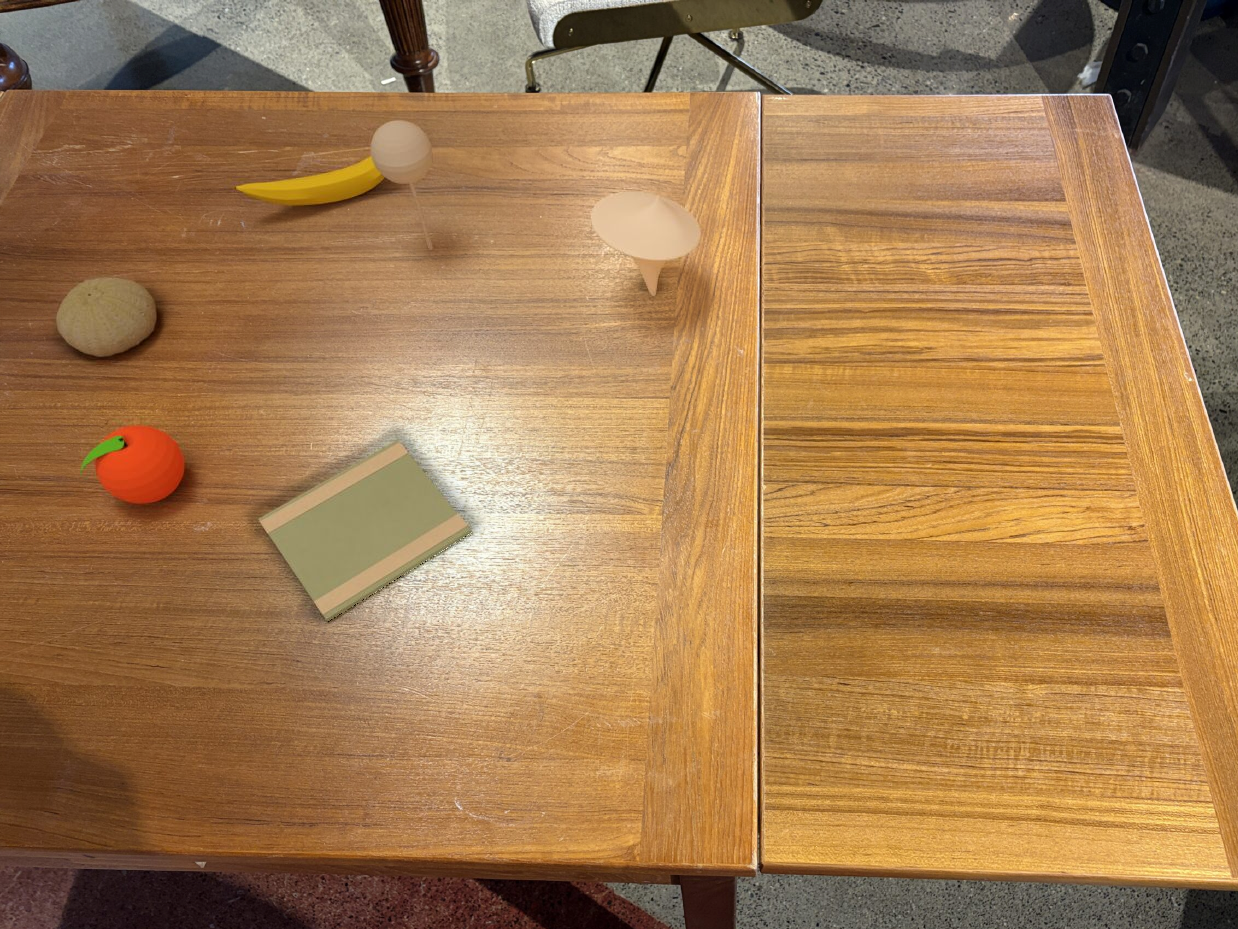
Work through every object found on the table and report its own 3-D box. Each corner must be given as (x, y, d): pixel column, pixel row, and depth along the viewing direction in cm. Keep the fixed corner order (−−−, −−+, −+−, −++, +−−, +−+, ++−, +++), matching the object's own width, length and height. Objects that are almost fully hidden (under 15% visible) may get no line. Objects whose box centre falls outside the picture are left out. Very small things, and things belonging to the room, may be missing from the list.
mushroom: (677, 249, 108) (673, 152, 98) (718, 314, 103) (718, 219, 93) (586, 277, 106) (572, 181, 96) (623, 345, 101) (612, 251, 91)
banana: (250, 216, 113) (226, 168, 107) (415, 168, 117) (400, 120, 112) (255, 232, 111) (232, 184, 106) (422, 183, 115) (407, 134, 110)
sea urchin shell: (85, 369, 97) (30, 295, 95) (92, 376, 104) (41, 308, 102) (174, 323, 101) (122, 250, 98) (175, 333, 108) (126, 265, 105)
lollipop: (397, 238, 110) (356, 116, 98) (449, 224, 111) (415, 100, 99) (411, 274, 107) (370, 152, 94) (465, 259, 108) (432, 136, 96)
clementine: (115, 536, 89) (72, 488, 83) (99, 481, 92) (57, 432, 86) (206, 498, 91) (170, 449, 85) (187, 446, 94) (151, 396, 88)
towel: (328, 622, 84) (325, 618, 83) (260, 522, 89) (257, 518, 89) (472, 533, 88) (470, 528, 88) (399, 443, 94) (397, 438, 94)
